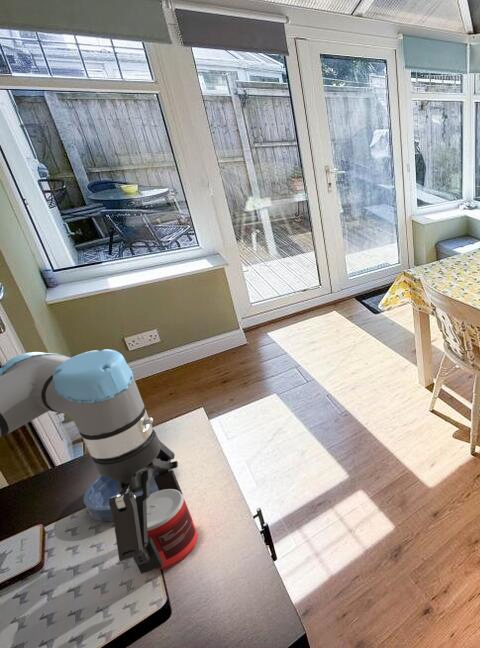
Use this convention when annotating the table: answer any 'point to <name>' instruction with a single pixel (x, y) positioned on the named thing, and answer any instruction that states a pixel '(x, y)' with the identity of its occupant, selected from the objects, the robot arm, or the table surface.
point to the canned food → (170, 526)
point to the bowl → (106, 496)
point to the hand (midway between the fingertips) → (163, 530)
